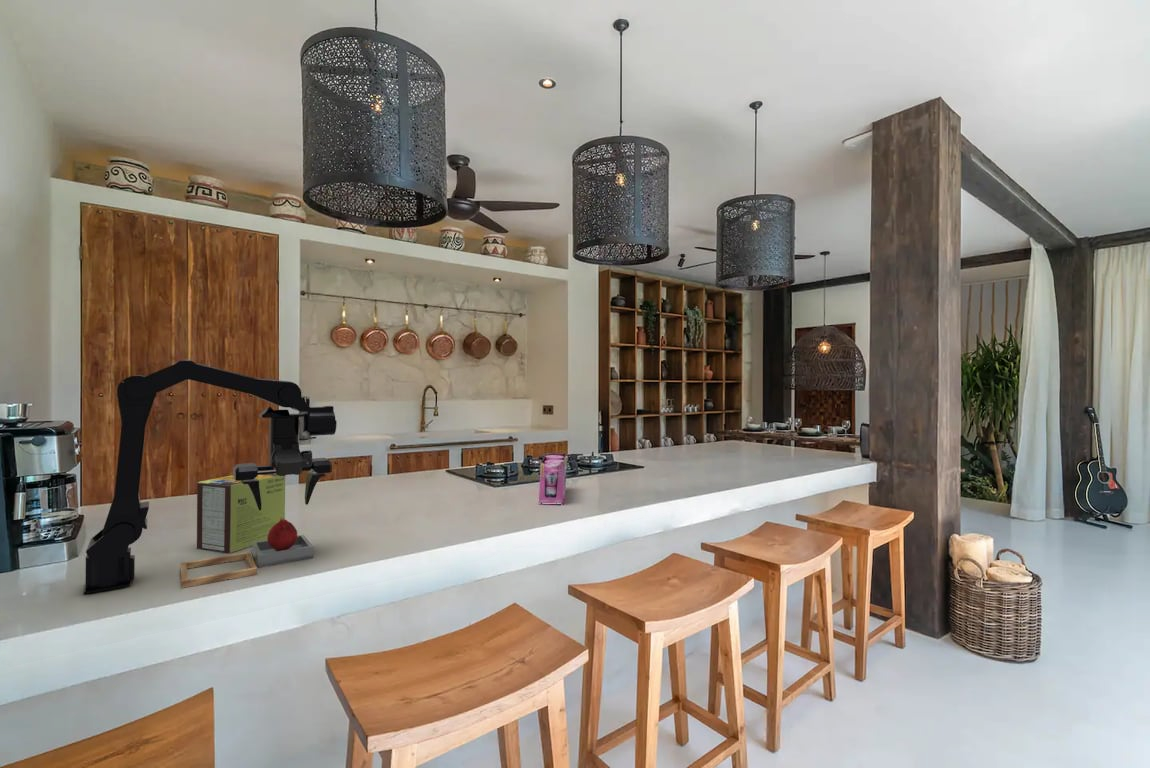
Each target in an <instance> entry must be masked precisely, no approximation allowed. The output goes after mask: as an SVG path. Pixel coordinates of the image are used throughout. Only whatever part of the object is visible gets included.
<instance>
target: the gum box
mask: <svg viewBox="0 0 1150 768" xmlns="http://www.w3.org/2000/svg"><path fill="white" fill-rule="evenodd" d="M539 465H540V466H539V487H538V488H539V492H538V504H539V503H556V504H557V503H561V504H562V503H564V500H565V496H566V492H567V487H566V486H567V453H550V452H549V453H545V454H544V457H543V458H542V460H541V461H540V464H539ZM565 491H566V492H565ZM564 495H565V496H564ZM563 499H564V500H563ZM562 505H563V504H562Z"/></svg>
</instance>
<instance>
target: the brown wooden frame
mask: <svg viewBox="0 0 1150 768" xmlns="http://www.w3.org/2000/svg"><path fill="white" fill-rule="evenodd" d="M244 560H245V561H246V564H247V566H248V568H244V569H239V570H234V571H233V570H232V571H227V572H223V573H222V572H221V573H216V574H210V575H203V576H199V577H198V576H197V577H193V578H188V569H187V568H190V569H195V568H194V567H196V568H200V567H201V566H202V567H206V566H207V565H208V566H212V565H213V564H214V565H219V564H218V563H220V564H225V563H224V562H226V563H230V562H229V561H232V562H238V561H244ZM256 574H257V575H258V567H257V565H256V562H255V560H254V558H253V556H252V552H250V551H248V552H241V553H234V554H229V555H228V554H227V555H223V556H216V557H210V558H209V557H208V558H204V559H198V560H191V561H184V562H180V579H181V580H180V582H181V589H185V588H190V586H191V587H195V586H202V585H207V584H211V583H212V582H213V583H218V582H223V580H224V581H228V580H227V579H229V580H234V578H235V579H240V578H245V576H246V577H251V576H254V575H255V576H257V575H256ZM217 581H218V582H217ZM213 583H212V584H213ZM201 584H202V585H201ZM184 587H185V588H184Z"/></svg>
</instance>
